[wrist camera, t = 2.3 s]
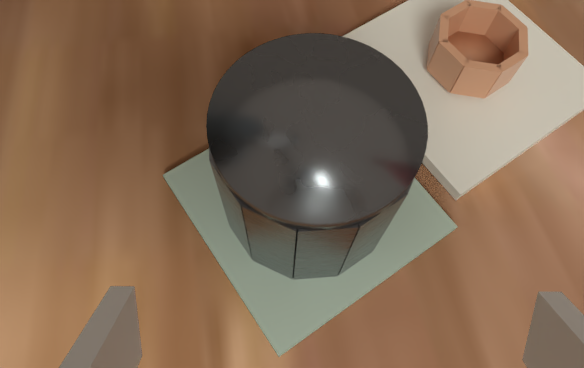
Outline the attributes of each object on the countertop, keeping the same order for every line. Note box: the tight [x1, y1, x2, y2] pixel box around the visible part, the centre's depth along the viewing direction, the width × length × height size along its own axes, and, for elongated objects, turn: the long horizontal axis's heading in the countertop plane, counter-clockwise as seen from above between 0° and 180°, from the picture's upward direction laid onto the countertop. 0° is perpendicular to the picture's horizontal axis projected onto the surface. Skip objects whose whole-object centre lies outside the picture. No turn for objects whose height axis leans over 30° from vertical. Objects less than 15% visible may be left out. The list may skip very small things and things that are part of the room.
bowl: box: [427, 0, 528, 99], centre depth 34 cm, size 6×6×4 cm
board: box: [342, 0, 584, 200], centre depth 36 cm, size 15×15×1 cm
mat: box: [163, 149, 457, 357], centre depth 32 cm, size 14×14×1 cm
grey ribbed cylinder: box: [206, 33, 428, 280], centre depth 27 cm, size 10×10×10 cm
